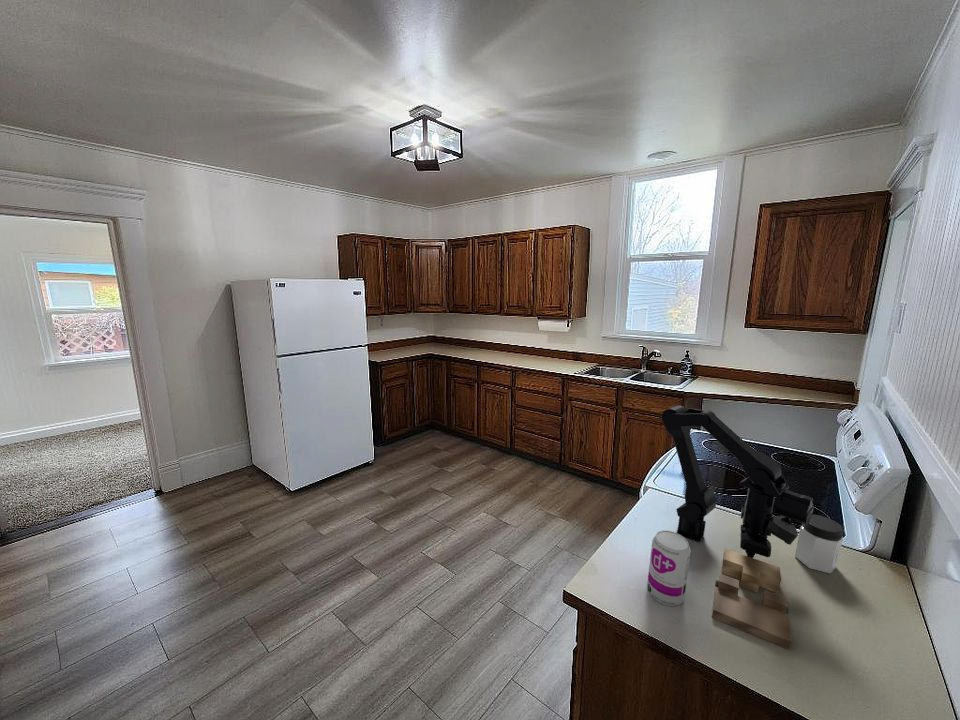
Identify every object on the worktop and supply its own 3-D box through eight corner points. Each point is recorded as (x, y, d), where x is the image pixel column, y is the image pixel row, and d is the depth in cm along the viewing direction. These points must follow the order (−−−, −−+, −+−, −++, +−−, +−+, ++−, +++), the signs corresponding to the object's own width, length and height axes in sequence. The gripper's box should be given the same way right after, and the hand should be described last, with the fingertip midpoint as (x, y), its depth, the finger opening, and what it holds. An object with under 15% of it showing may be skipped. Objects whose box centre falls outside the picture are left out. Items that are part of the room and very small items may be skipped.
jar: (828, 578, 101) (837, 537, 98) (790, 559, 107) (798, 520, 105) (840, 564, 105) (849, 525, 103) (803, 547, 112) (810, 510, 110)
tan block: (720, 579, 100) (723, 565, 99) (722, 561, 106) (724, 548, 105) (779, 601, 93) (782, 586, 92) (777, 580, 100) (779, 567, 99)
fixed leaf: (711, 616, 88) (713, 601, 88) (714, 586, 97) (717, 572, 97) (790, 650, 81) (793, 633, 80) (786, 613, 90) (789, 598, 89)
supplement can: (668, 613, 89) (676, 556, 86) (639, 588, 96) (645, 534, 93) (691, 600, 93) (699, 545, 90) (661, 577, 100) (668, 525, 97)
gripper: (802, 535, 90) (790, 593, 93) (794, 499, 106) (784, 549, 109) (745, 519, 96) (735, 573, 100) (744, 487, 112) (737, 535, 115)
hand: (749, 557), depth 105 cm, fingers closed
